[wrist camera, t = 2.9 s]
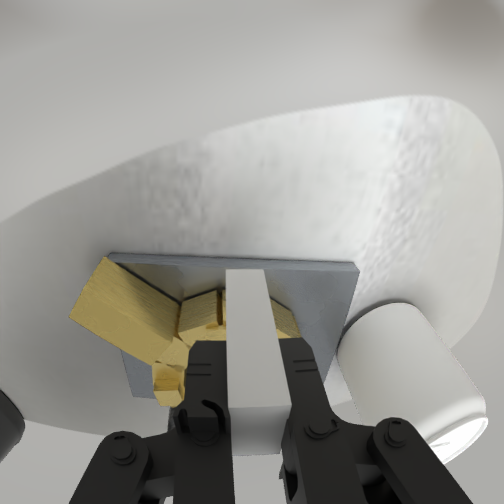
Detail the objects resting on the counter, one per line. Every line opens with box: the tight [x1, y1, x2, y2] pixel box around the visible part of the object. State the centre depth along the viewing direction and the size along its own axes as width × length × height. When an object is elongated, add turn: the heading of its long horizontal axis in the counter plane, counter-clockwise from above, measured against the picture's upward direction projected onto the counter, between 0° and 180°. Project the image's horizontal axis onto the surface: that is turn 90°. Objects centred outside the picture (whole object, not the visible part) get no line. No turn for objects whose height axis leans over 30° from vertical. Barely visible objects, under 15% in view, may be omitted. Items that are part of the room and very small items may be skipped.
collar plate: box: [108, 253, 360, 432], centre depth 20 cm, size 16×13×6 cm
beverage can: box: [337, 303, 488, 465], centre depth 19 cm, size 8×8×12 cm
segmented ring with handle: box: [69, 256, 302, 408], centre depth 19 cm, size 16×10×4 cm, turn 50°
